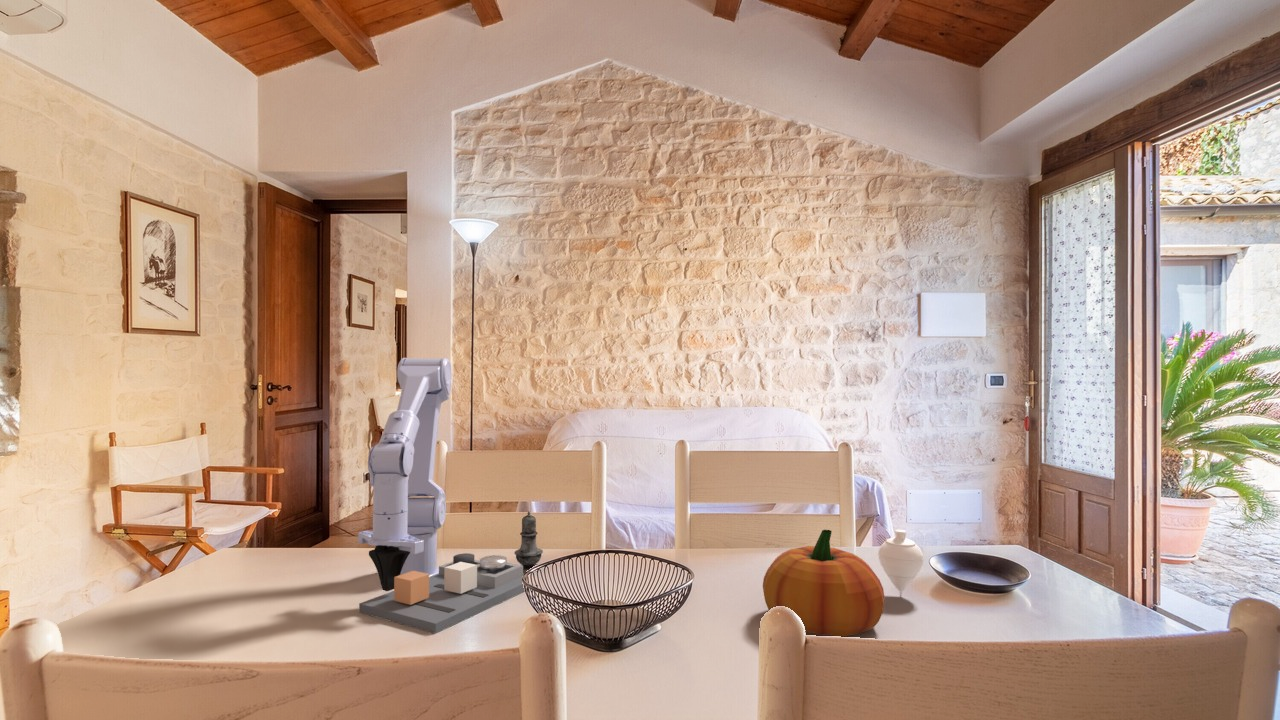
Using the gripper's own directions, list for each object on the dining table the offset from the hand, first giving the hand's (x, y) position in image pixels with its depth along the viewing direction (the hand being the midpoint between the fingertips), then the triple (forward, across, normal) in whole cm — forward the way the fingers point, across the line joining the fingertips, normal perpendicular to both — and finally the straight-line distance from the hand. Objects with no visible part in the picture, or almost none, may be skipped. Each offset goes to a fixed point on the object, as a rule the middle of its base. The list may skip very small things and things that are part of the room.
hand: (389, 589), depth 111 cm
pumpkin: (+3, +68, +29) cm, 74 cm away
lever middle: (+1, +9, +8) cm, 12 cm away
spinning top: (+3, +78, +48) cm, 92 cm away
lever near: (+1, +5, 0) cm, 6 cm away
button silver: (-1, +9, +16) cm, 19 cm away
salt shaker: (+3, +8, +28) cm, 29 cm away
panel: (+3, +8, +8) cm, 11 cm away
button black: (-1, +2, +16) cm, 16 cm away
